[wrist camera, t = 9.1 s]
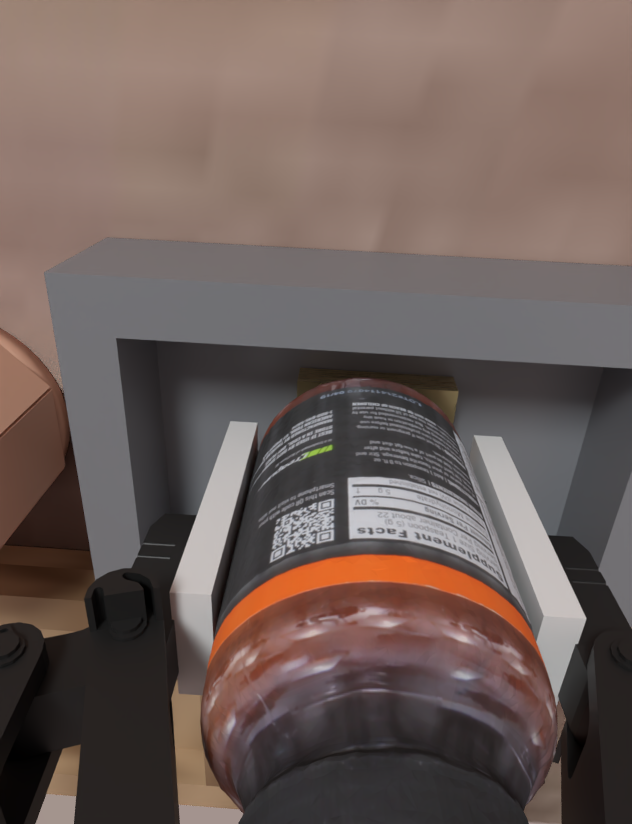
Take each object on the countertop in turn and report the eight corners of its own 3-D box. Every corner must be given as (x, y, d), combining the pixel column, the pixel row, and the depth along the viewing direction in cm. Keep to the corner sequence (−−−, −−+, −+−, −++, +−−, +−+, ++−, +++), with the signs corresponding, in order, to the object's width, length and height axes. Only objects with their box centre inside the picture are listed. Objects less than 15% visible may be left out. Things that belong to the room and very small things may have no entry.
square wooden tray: (-3, 733, 28) (-34, 787, 26) (-64, 540, 23) (-109, 587, 21) (251, 753, 28) (242, 809, 26) (248, 562, 23) (237, 612, 20)
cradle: (141, 539, 22) (102, 621, 19) (107, 237, 17) (43, 272, 14) (575, 568, 22) (618, 658, 18) (670, 268, 17) (755, 312, 13)
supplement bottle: (381, 572, 19) (423, 1084, 9) (221, 483, 18) (64, 968, 8) (509, 440, 17) (752, 938, 7) (334, 325, 16) (314, 734, 5)
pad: (295, 493, 20) (293, 511, 19) (299, 367, 18) (297, 381, 17) (432, 502, 20) (436, 521, 19) (452, 376, 18) (458, 391, 17)
